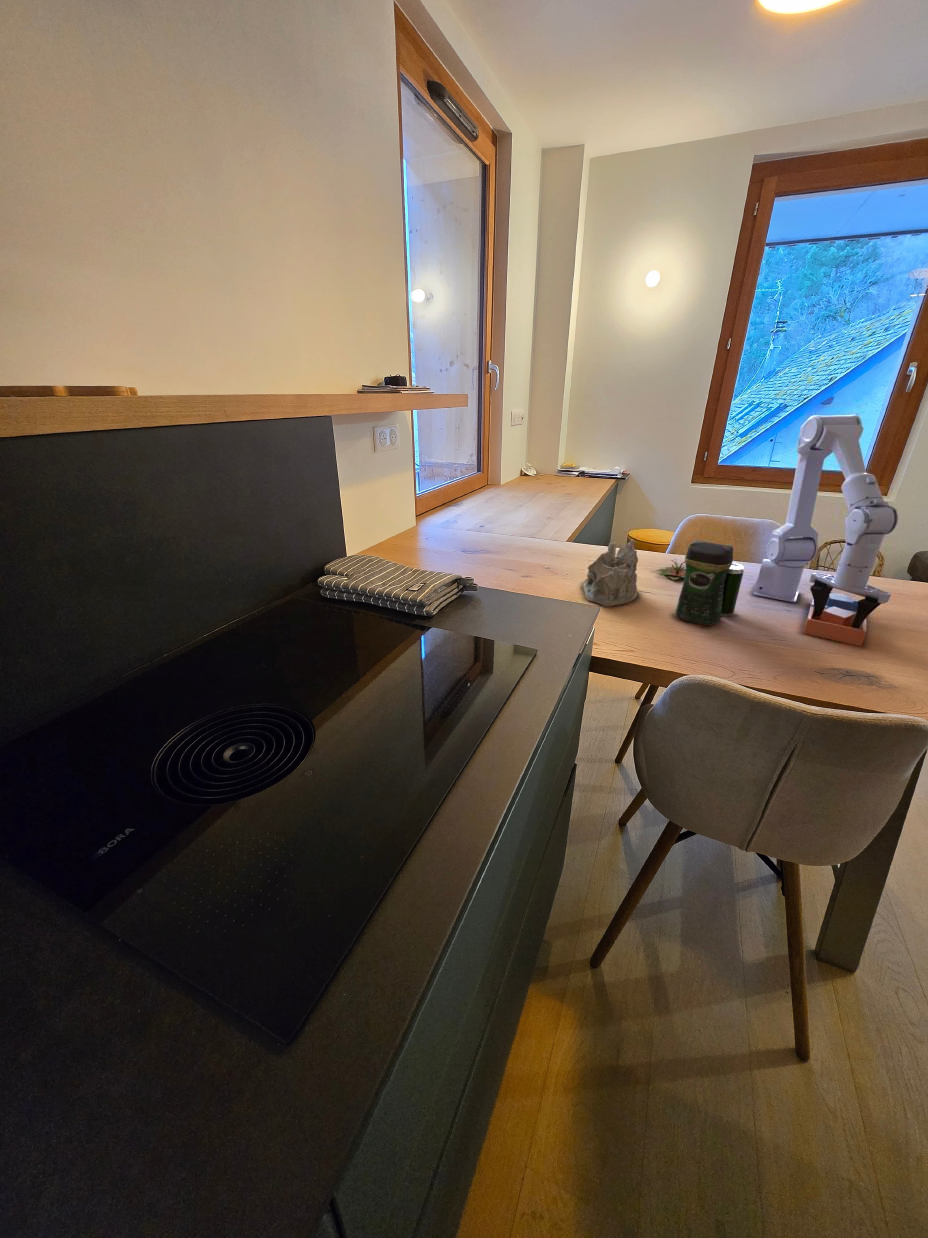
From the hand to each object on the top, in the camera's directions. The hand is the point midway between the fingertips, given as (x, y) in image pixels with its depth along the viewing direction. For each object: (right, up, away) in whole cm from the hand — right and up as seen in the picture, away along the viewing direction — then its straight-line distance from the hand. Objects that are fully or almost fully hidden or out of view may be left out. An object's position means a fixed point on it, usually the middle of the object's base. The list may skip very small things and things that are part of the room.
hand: (836, 621), depth 109 cm
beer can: (-20, +2, +12) cm, 23 cm away
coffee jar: (-27, +1, +9) cm, 28 cm away
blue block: (+6, +2, +8) cm, 10 cm away
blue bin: (+6, +1, +8) cm, 10 cm away
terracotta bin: (0, -2, +1) cm, 3 cm away
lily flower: (-20, +13, +35) cm, 42 cm away
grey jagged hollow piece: (-44, +8, +24) cm, 51 cm away
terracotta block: (0, -2, +1) cm, 2 cm away
